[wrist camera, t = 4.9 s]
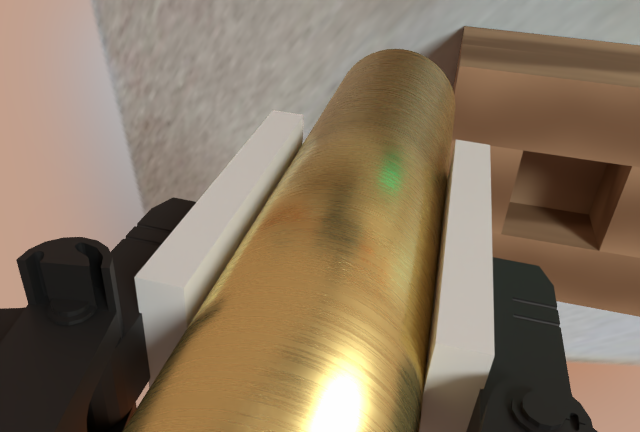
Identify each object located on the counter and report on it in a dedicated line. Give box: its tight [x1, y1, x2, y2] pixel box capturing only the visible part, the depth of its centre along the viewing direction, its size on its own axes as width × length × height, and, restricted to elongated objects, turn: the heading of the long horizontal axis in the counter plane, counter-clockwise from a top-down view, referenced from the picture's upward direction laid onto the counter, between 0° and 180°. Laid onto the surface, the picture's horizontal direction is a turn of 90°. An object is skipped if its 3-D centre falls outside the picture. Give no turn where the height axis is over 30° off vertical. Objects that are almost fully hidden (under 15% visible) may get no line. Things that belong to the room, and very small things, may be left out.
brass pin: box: [122, 49, 455, 432], centre depth 12 cm, size 4×4×14 cm
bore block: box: [448, 26, 640, 316], centre depth 31 cm, size 12×12×7 cm
